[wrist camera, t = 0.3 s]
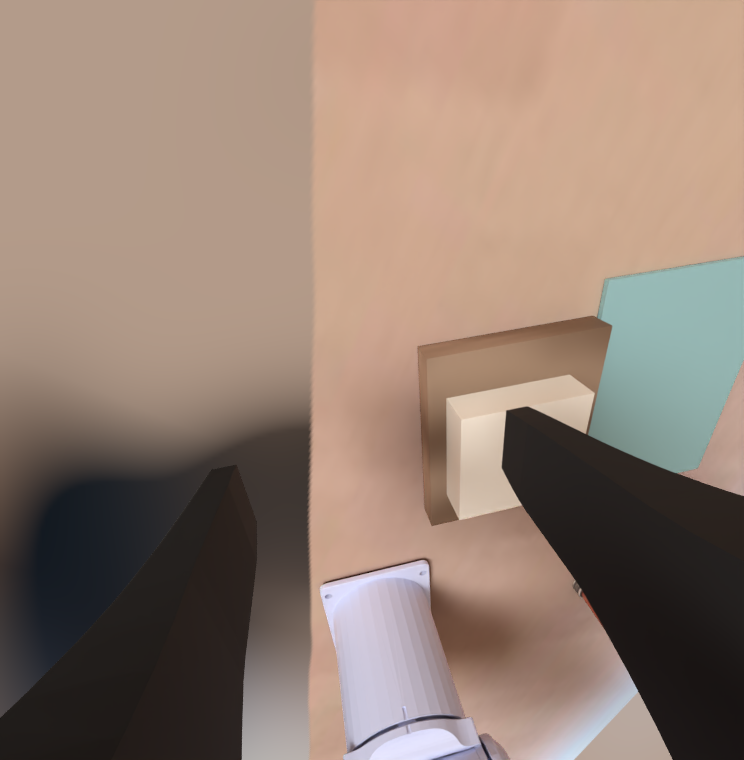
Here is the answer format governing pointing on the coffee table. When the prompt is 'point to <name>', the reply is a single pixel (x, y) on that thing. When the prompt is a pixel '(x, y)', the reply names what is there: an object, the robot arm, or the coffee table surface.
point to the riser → (498, 382)
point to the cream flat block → (500, 438)
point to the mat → (669, 360)
